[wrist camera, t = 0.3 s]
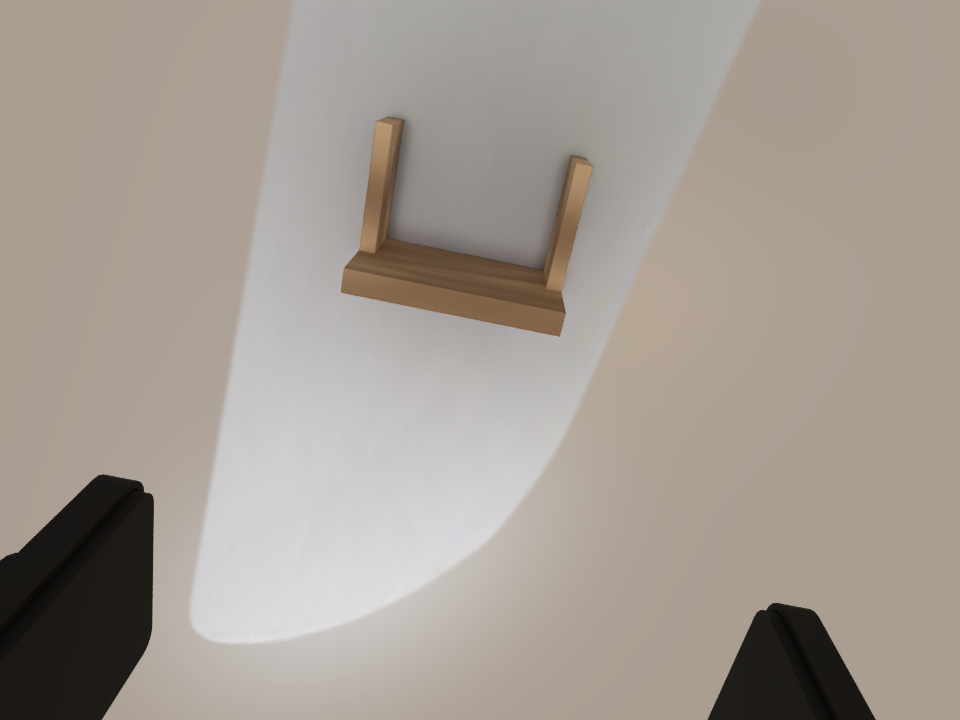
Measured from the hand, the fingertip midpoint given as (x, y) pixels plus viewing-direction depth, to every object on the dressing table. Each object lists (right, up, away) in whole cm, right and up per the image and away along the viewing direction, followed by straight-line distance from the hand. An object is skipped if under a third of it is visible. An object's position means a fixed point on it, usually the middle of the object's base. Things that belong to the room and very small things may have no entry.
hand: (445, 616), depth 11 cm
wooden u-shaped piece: (0, +12, +27) cm, 30 cm away
